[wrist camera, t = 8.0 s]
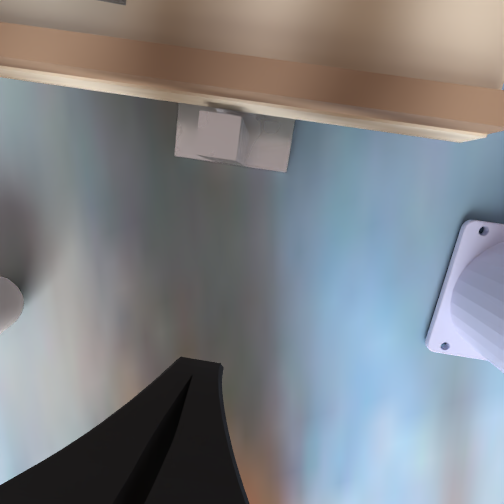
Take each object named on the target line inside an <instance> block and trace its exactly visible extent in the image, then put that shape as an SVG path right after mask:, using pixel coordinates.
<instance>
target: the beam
mask: <svg viewBox="0 0 504 504" xmlns="http://www.w3.org/2000/svg"><path fill="white" fill-rule="evenodd" d="M0 77H3V78H10V79H17V80H24V81H31V82H38V83H45V84H52V85H59V86H66V87H73V88H80V89H87V90H94V91H101V92H108V93H115V94H122V95H129V96H136V97H143V98H150V99H157V100H164V101H171V102H178V103H185V104H192V105H199V106H206V107H213V108H220V109H227V110H234V111H242V112H249V113H256V114H263V115H270V116H277V117H284V118H291V119H298V120H305V121H312V122H319V123H326V124H333V125H340V126H347V127H354V128H361V129H368V130H375V131H382V132H389V133H396V134H403V135H410V136H417V137H424V138H431V139H438V140H445V141H452V142H459V143H461V142H466V141H471V140H476V139H480V138H485V137H487V134H491V133H495V132H500V131H504V90H501V89H502V86H503V83H504V0H126V5H120V4H115V3H109V2H104V1H98V0H0Z"/></svg>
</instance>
